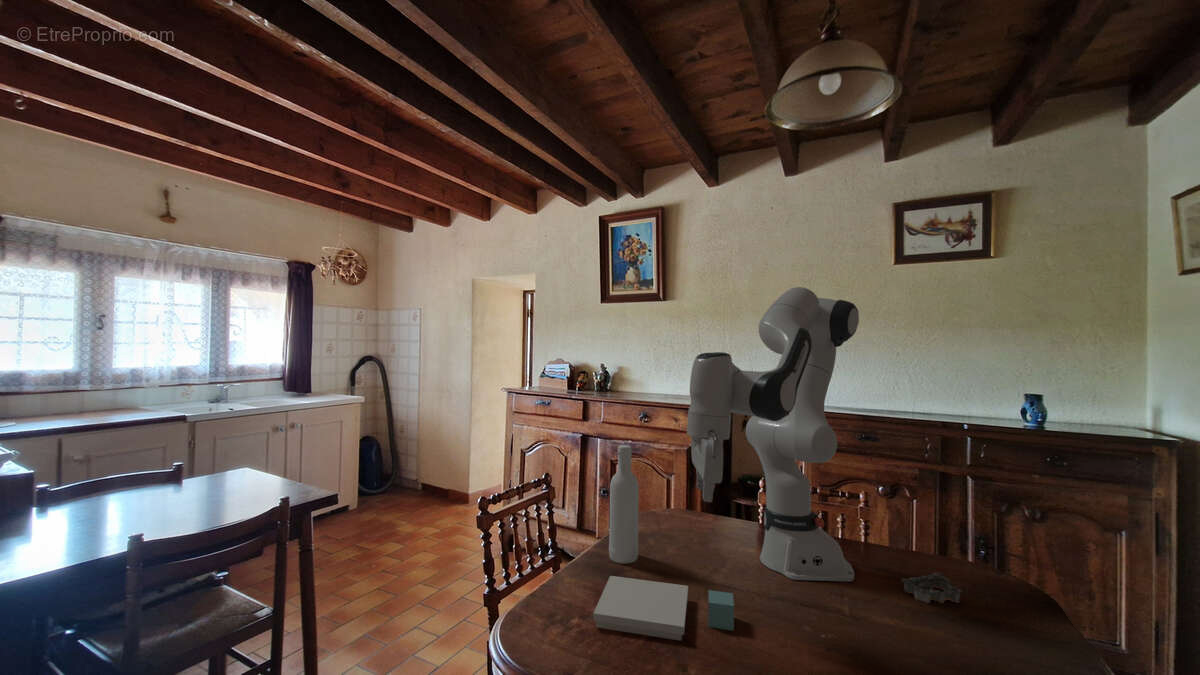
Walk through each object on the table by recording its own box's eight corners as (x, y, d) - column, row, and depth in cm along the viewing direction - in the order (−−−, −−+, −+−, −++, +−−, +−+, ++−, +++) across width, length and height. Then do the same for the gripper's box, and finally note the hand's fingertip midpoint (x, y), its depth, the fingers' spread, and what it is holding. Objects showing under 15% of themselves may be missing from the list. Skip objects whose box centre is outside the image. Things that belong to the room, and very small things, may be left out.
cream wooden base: (688, 599, 104) (688, 585, 104) (684, 642, 88) (684, 626, 88) (610, 588, 108) (610, 575, 108) (593, 628, 93) (593, 613, 93)
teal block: (732, 617, 97) (732, 593, 97) (733, 631, 92) (733, 605, 93) (708, 613, 99) (708, 590, 99) (708, 627, 94) (708, 602, 94)
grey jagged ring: (943, 589, 111) (943, 572, 111) (967, 606, 103) (967, 588, 103) (898, 587, 111) (898, 570, 111) (919, 605, 103) (919, 586, 103)
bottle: (644, 557, 125) (645, 446, 126) (626, 567, 119) (627, 450, 120) (621, 548, 130) (622, 441, 131) (602, 557, 124) (604, 445, 125)
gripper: (733, 436, 87) (728, 511, 86) (715, 424, 107) (712, 485, 106) (699, 432, 87) (694, 507, 86) (688, 422, 107) (684, 482, 106)
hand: (704, 494), depth 96 cm, fingers open, 8 cm apart
